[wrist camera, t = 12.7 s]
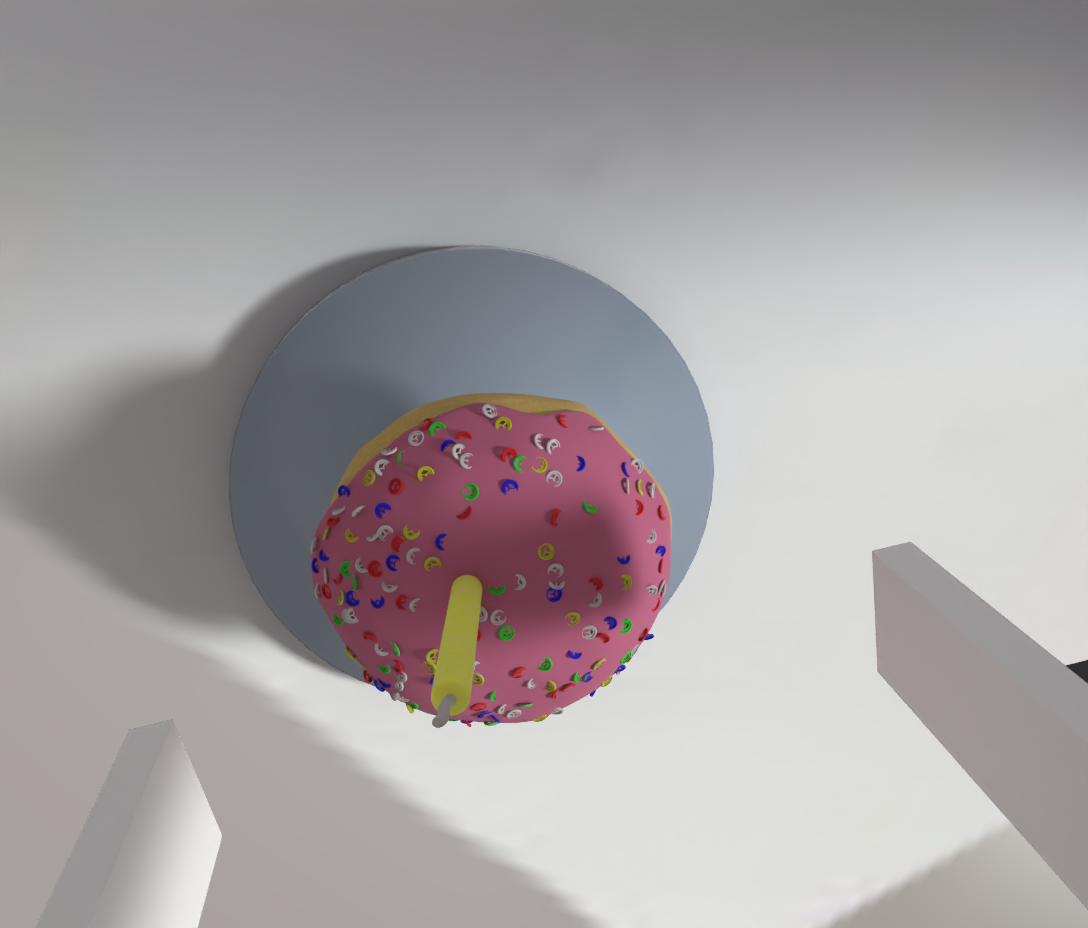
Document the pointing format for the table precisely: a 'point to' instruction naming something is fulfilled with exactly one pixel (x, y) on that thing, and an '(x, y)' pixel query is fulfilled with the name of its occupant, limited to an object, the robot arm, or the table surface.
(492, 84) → the table surface
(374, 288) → the slate plate
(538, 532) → the cupcake
